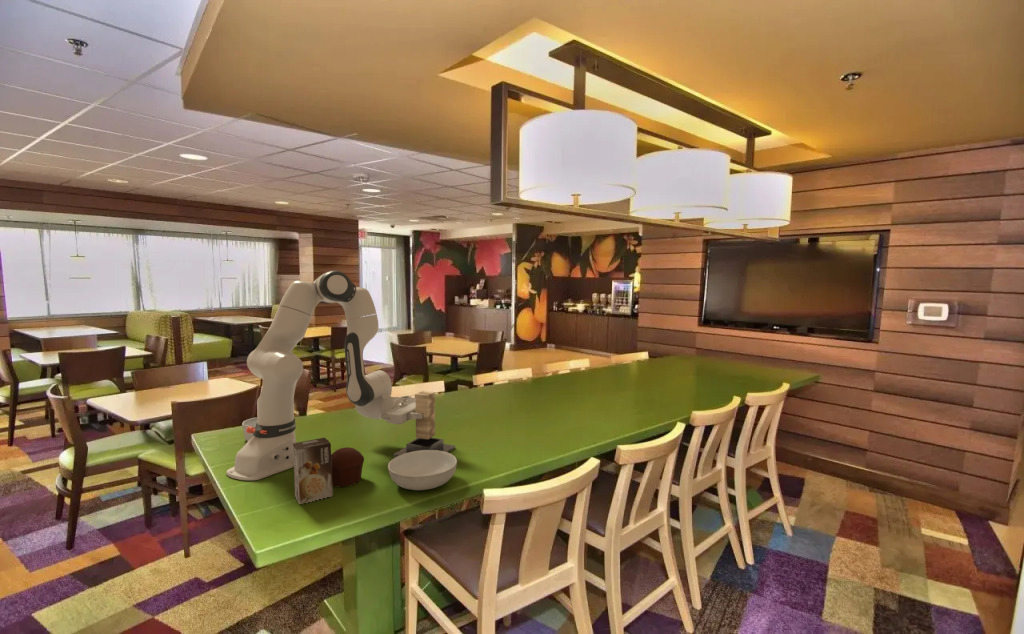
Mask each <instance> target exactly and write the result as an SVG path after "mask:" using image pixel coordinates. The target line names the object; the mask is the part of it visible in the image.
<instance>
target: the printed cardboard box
mask: <svg viewBox="0 0 1024 634" xmlns="http://www.w3.org/2000/svg"><path fill="white" fill-rule="evenodd" d="M331 454H332V445H331V442H330V441H329V440H328V439H327V438H326V437H320V438H313V439H309V440H305V441H298V442H296V443H293V457H294V467H293V473H294V474H293V476H294V498H295V497H296V498H295V500H296V501H297V503H298V504H302V505H304V504H303V503H306V504H309V503H308V502H310V503H312V501H313V502H316V501H315V500H317V501H320V500H319V499H321V500H323V498H325V499H328V498H327V497H329V498H332V497H333V496H334V495H333V492H334V489H333V487H334V486H333V485H332V462H331Z"/></svg>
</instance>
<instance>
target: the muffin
mask: <svg viewBox="0 0 1024 634" xmlns="http://www.w3.org/2000/svg"><path fill="white" fill-rule="evenodd" d="M364 461H365V457H364V455H363V454H362V453H361V452H360V451H359V450H357V449H355V448H354V447H348V446H347V447H340V448H337V450H335V451H334V452H331V462H332V487H335V486H339V487H338V488H344V487H343V486H347V487H351V486H350V485H352V486H353V484H354V483H356V484H358V483H359V482H360V481H361V479H362V472H363V466H364ZM357 482H358V483H357ZM354 485H355V484H354Z"/></svg>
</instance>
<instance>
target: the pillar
mask: <svg viewBox="0 0 1024 634" xmlns="http://www.w3.org/2000/svg"><path fill="white" fill-rule="evenodd" d="M414 398H416V413H423V414H424V417H423V418H422V419H415V439H416V438H422V439H430V438H431V437H432V438H434V436H436V392H435V391H425V390H422V391H419V392H418V393H415V397H414Z"/></svg>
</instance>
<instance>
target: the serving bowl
mask: <svg viewBox="0 0 1024 634" xmlns="http://www.w3.org/2000/svg"><path fill="white" fill-rule="evenodd" d="M457 464H458V460H457V458H456V456H455V455H453V453H451V452H449V453H448V452H444V451H438V450H420V451H413V452H409V453H405V454H402V455H400V456H397V457H393V459H391V460H390V461H389V462H388V464H387V470H388V475H389V477H390V479H391V481H393V482H394V483H395V485H397V486H398V487H401V488H403V489H406V490H411V491H426V490H432V489H436V488H438V487H441V486H443V485H444V484H447V482H448V481H450V480H451V478H452V477H453V476H454V474H455V472H456V469H457Z"/></svg>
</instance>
